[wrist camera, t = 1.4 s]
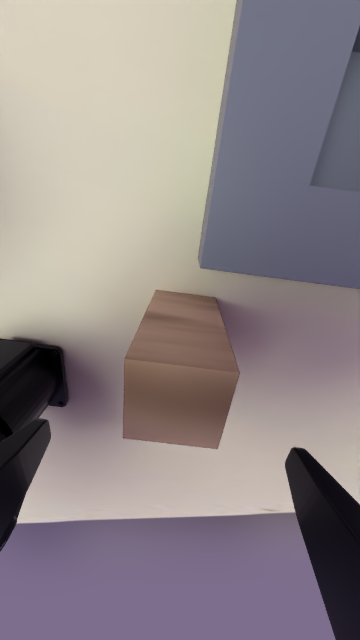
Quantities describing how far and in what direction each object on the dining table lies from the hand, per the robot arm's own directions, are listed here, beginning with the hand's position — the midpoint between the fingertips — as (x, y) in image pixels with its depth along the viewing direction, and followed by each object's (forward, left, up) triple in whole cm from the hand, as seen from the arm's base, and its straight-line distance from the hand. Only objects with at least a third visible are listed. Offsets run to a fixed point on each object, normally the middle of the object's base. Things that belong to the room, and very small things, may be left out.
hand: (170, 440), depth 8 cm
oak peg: (0, 0, -11) cm, 11 cm away
